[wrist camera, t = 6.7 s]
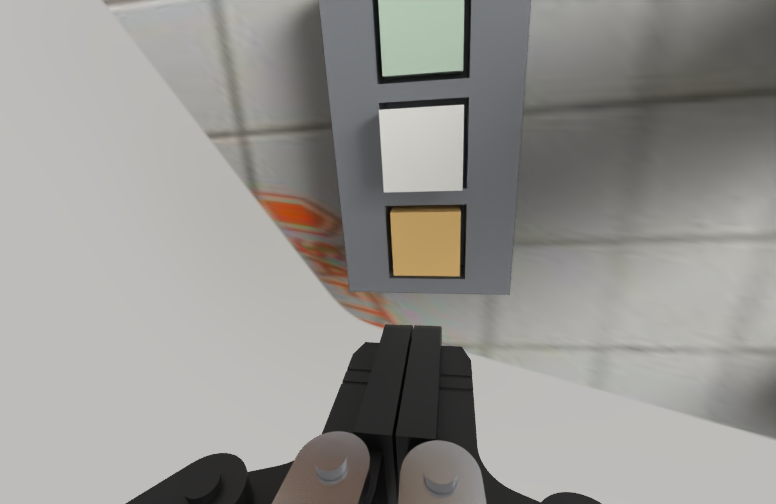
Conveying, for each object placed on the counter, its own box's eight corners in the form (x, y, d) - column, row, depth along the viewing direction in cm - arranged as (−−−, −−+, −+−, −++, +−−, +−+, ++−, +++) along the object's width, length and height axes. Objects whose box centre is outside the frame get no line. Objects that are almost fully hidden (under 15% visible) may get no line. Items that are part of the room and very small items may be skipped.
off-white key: (462, 104, 17) (464, 104, 15) (461, 182, 18) (462, 190, 16) (385, 109, 18) (378, 109, 16) (390, 184, 19) (383, 192, 17)
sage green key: (462, -15, 17) (464, -29, 15) (461, 73, 18) (463, 70, 16) (384, -6, 17) (377, -19, 15) (388, 79, 18) (382, 76, 17)
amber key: (459, 201, 20) (460, 211, 18) (458, 261, 22) (459, 276, 20) (395, 203, 21) (390, 212, 19) (398, 261, 22) (393, 275, 20)
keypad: (518, -36, 18) (536, -73, 14) (499, 265, 24) (509, 294, 20) (339, -15, 19) (313, -44, 16) (363, 264, 25) (349, 291, 21)
